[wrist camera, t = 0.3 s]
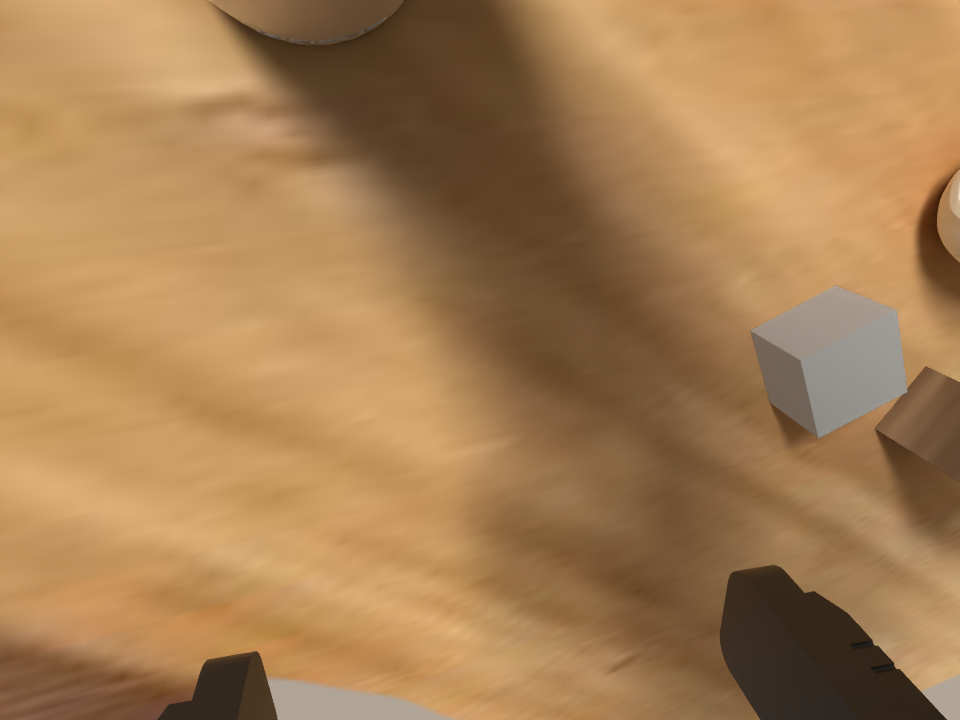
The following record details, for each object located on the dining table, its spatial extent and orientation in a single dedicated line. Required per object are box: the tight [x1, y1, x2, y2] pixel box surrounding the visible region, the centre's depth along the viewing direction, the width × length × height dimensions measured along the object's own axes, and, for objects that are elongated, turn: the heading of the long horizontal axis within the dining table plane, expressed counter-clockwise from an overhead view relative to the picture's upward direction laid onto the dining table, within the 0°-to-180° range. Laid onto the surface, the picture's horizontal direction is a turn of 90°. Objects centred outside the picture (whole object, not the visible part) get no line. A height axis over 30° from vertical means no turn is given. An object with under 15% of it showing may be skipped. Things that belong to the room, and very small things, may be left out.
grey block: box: [750, 286, 908, 438], centre depth 30 cm, size 5×5×4 cm
